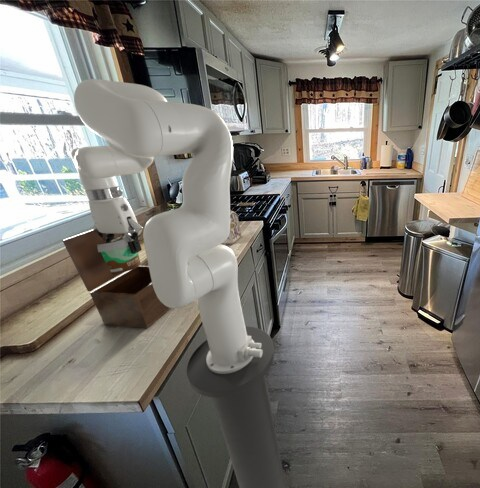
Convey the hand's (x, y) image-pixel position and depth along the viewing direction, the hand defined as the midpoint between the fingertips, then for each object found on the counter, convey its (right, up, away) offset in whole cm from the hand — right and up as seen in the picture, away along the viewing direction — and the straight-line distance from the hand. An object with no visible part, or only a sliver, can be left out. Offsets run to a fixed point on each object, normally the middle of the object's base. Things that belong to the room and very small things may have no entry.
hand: (126, 251), depth 79 cm
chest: (+1, -20, +9) cm, 22 cm away
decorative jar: (+7, +4, +66) cm, 66 cm away
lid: (-8, -1, +2) cm, 8 cm away
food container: (0, -5, +2) cm, 5 cm away
